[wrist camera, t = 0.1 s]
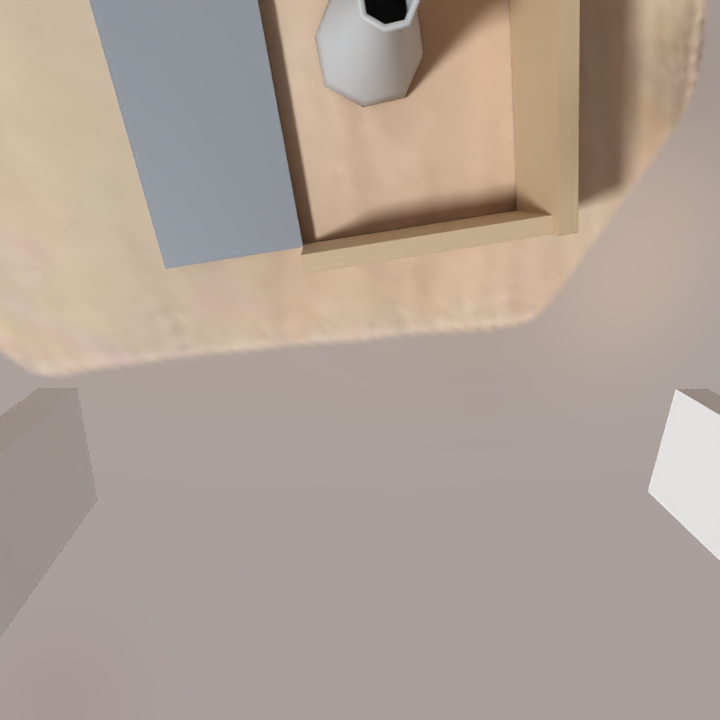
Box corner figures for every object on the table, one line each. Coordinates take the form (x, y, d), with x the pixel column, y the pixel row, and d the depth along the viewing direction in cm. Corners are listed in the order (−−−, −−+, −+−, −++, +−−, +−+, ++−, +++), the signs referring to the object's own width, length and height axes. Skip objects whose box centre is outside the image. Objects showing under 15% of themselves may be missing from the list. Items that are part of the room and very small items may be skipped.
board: (52, -151, 28) (43, -162, 27) (226, -175, 28) (223, -188, 27) (169, 266, 36) (165, 268, 35) (303, 245, 37) (302, 246, 36)
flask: (320, -28, 31) (319, -119, 22) (431, -8, 32) (478, -88, 22) (310, 99, 33) (305, 67, 24) (414, 115, 34) (449, 89, 25)
